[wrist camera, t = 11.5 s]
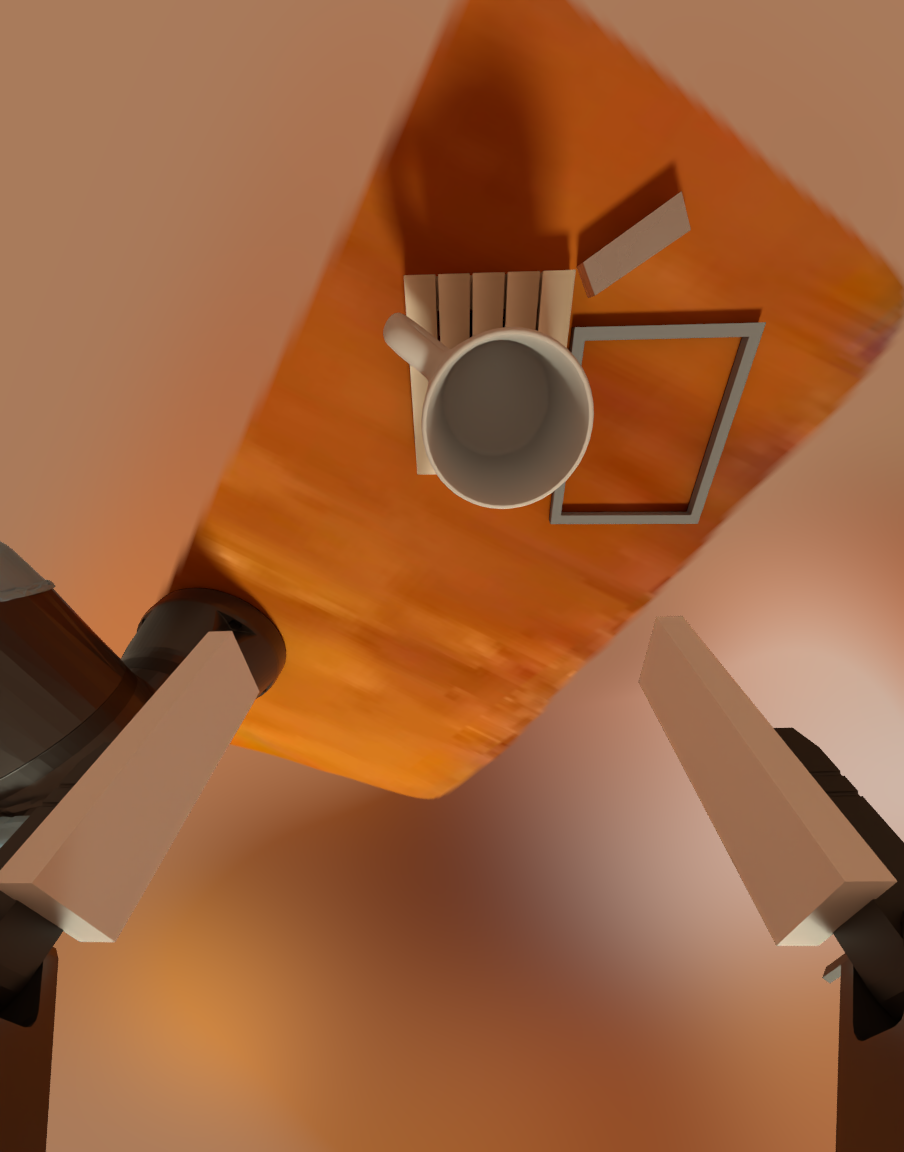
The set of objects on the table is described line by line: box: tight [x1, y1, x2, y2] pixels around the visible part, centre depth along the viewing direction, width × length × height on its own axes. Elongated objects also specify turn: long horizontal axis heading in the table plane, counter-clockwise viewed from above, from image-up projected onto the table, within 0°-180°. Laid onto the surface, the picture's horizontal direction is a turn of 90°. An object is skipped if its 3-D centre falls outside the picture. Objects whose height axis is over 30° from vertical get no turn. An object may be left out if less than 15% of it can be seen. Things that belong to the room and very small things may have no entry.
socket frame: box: [549, 322, 766, 524], centre depth 31 cm, size 13×15×1 cm
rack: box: [404, 270, 576, 474], centre depth 28 cm, size 11×13×2 cm
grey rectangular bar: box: [577, 191, 691, 298], centre depth 24 cm, size 6×2×2 cm, turn 122°
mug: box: [383, 313, 594, 509], centre depth 23 cm, size 12×8×11 cm
